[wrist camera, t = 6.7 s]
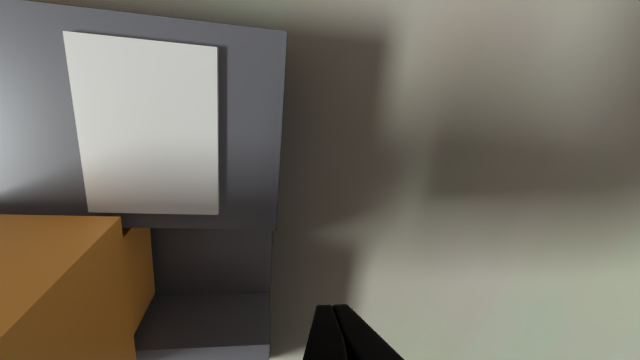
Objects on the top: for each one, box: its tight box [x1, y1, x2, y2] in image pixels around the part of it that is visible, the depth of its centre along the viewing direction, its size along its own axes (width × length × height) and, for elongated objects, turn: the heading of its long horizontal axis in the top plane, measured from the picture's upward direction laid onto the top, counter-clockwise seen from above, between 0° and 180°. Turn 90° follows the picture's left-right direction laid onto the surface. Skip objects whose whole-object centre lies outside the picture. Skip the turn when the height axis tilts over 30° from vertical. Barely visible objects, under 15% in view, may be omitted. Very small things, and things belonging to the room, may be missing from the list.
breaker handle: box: [0, 214, 155, 360], centre depth 8 cm, size 4×5×6 cm
